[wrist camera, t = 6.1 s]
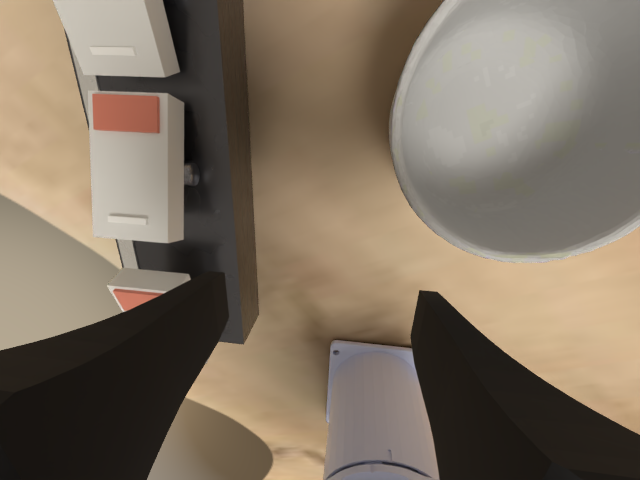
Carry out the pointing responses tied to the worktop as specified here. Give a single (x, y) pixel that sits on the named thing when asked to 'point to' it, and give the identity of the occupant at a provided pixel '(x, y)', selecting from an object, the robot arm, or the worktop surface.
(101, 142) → the block
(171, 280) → the block
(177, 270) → the switch panel
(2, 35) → the worktop surface
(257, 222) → the worktop surface
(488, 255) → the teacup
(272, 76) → the worktop surface
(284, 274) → the worktop surface
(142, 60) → the rocker
